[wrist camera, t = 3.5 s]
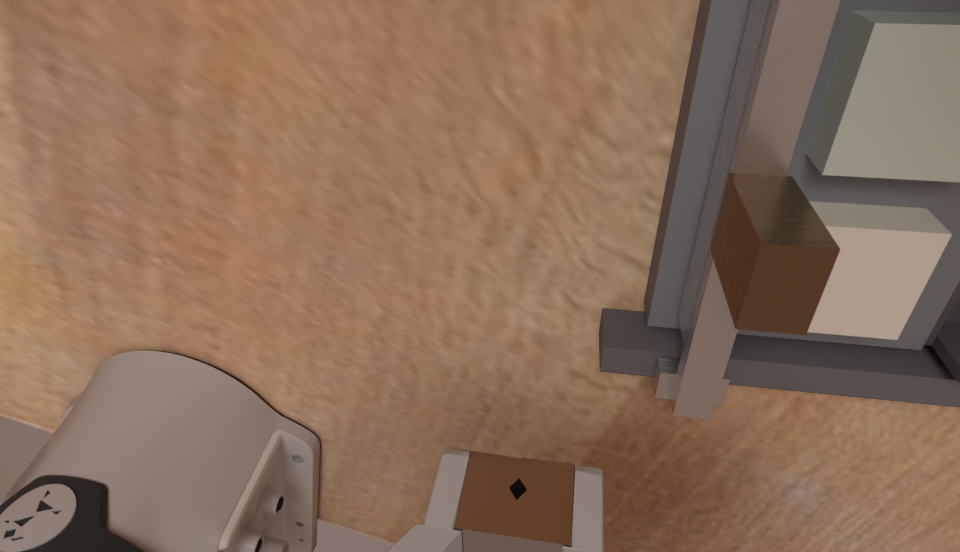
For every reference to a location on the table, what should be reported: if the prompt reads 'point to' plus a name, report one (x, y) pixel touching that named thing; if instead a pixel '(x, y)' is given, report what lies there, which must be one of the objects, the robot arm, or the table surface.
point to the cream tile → (876, 267)
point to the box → (948, 335)
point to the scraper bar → (754, 210)
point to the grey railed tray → (815, 356)
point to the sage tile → (892, 99)
